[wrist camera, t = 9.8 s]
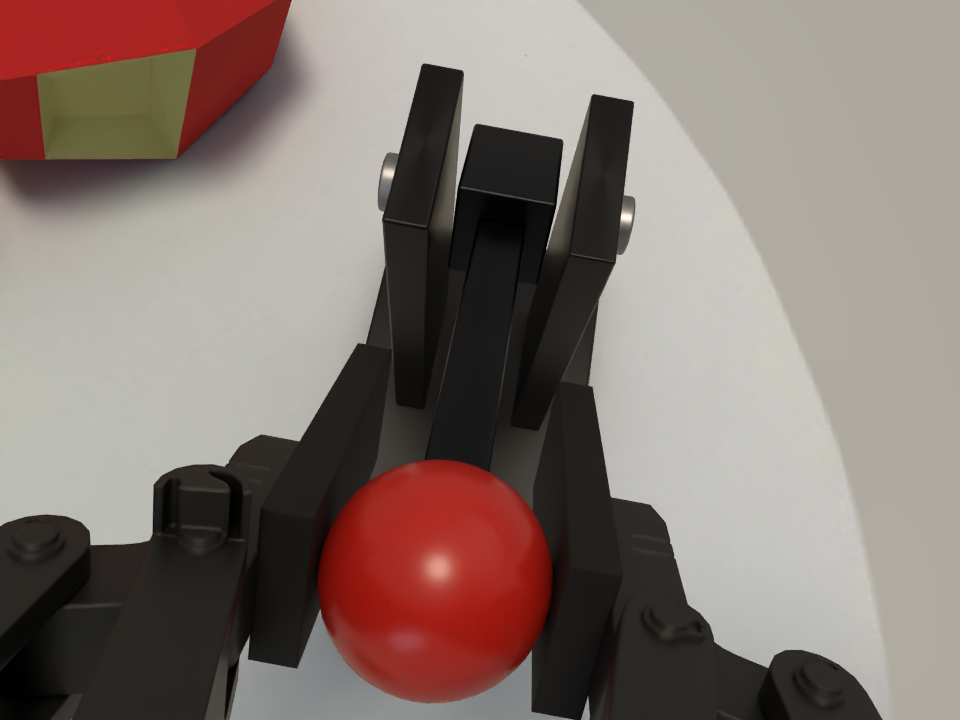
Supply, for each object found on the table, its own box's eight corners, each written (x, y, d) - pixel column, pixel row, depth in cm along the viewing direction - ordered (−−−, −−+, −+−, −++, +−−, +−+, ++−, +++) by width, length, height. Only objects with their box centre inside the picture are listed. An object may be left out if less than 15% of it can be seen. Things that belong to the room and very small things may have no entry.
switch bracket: (565, 527, 27) (677, 399, 16) (336, 484, 27) (275, 325, 16) (597, 276, 31) (705, 23, 20) (396, 239, 31) (384, -37, 20)
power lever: (521, 758, 12) (568, 664, 10) (292, 716, 12) (279, 611, 10) (567, 240, 21) (598, 121, 19) (435, 216, 21) (449, 93, 19)
